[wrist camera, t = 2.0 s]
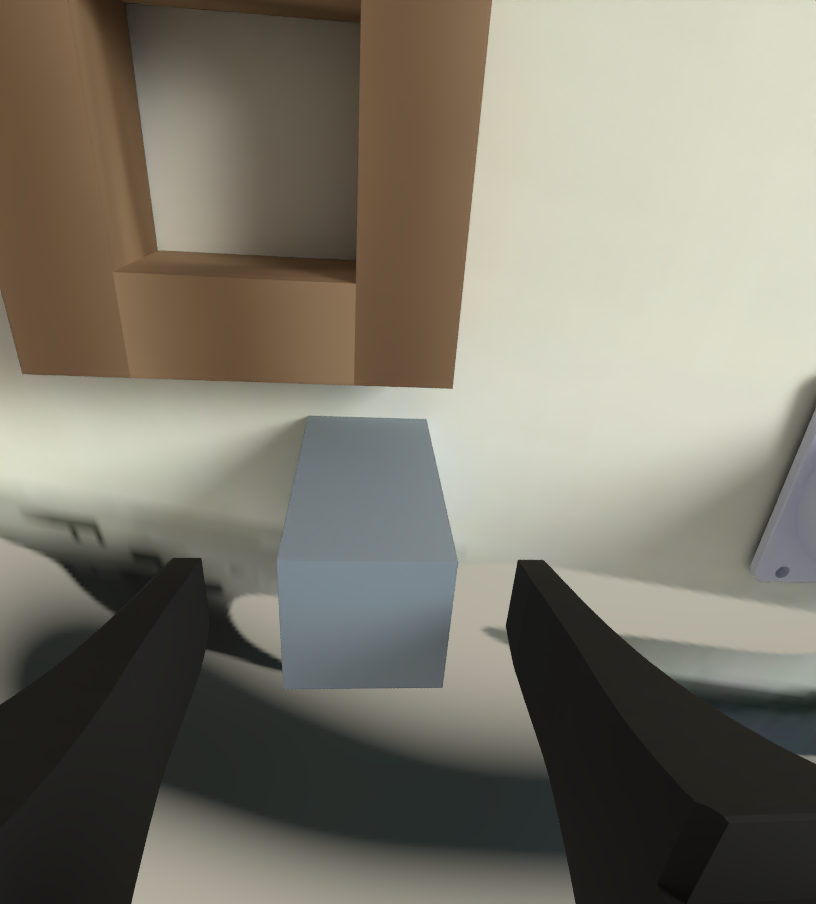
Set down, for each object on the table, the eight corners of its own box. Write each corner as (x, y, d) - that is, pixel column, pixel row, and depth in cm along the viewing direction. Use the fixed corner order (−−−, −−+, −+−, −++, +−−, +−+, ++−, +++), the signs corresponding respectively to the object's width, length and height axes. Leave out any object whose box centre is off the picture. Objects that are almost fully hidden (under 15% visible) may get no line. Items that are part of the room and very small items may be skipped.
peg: (426, 419, 18) (458, 562, 12) (418, 517, 20) (442, 687, 13) (308, 416, 18) (276, 560, 11) (310, 515, 19) (283, 688, 13)
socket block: (478, -107, 12) (510, -178, 10) (439, 351, 17) (452, 388, 14) (-22, -160, 11) (-139, -254, 9) (79, 336, 16) (22, 374, 13)
